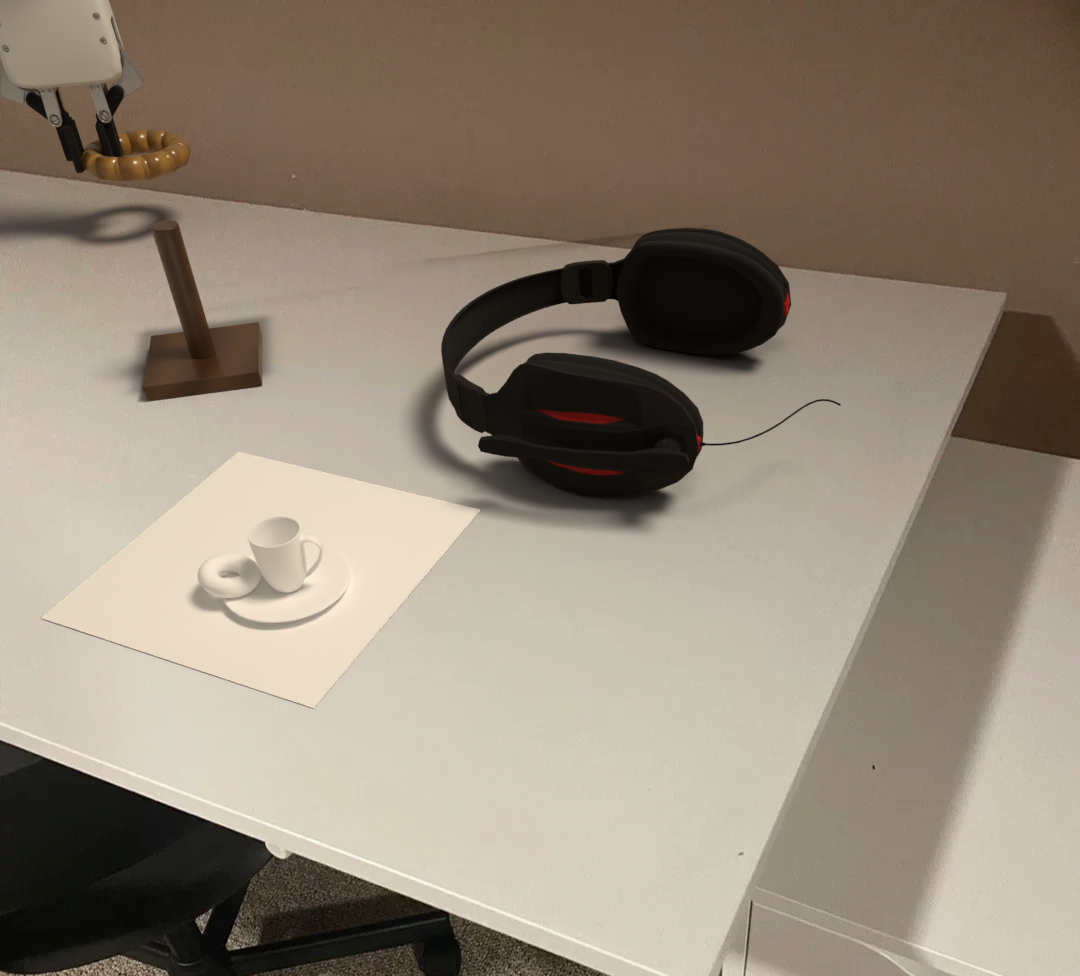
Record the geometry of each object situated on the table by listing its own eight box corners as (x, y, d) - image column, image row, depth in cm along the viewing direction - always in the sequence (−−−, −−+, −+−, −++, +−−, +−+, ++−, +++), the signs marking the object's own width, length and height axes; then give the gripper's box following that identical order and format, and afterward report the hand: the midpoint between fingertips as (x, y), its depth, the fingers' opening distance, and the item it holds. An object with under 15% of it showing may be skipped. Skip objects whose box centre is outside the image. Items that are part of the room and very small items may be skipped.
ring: (80, 188, 94) (72, 165, 93) (92, 154, 101) (85, 132, 99) (189, 178, 95) (183, 155, 94) (194, 145, 102) (189, 123, 101)
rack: (147, 401, 80) (95, 256, 71) (155, 349, 86) (108, 210, 78) (262, 385, 80) (224, 241, 72) (262, 335, 87) (227, 196, 78)
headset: (847, 515, 65) (875, 390, 59) (442, 537, 65) (426, 415, 59) (765, 320, 85) (779, 210, 78) (453, 337, 85) (441, 228, 78)
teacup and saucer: (186, 606, 62) (165, 552, 59) (262, 533, 67) (247, 480, 64) (305, 642, 59) (290, 588, 56) (376, 564, 64) (365, 510, 61)
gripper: (126, -86, 88) (185, 147, 101) (-68, -74, 86) (18, 162, 99) (117, -72, 82) (181, 172, 96) (-89, -59, 81) (5, 188, 94)
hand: (97, 165), depth 97 cm, fingers closed on ring, 2 cm apart
